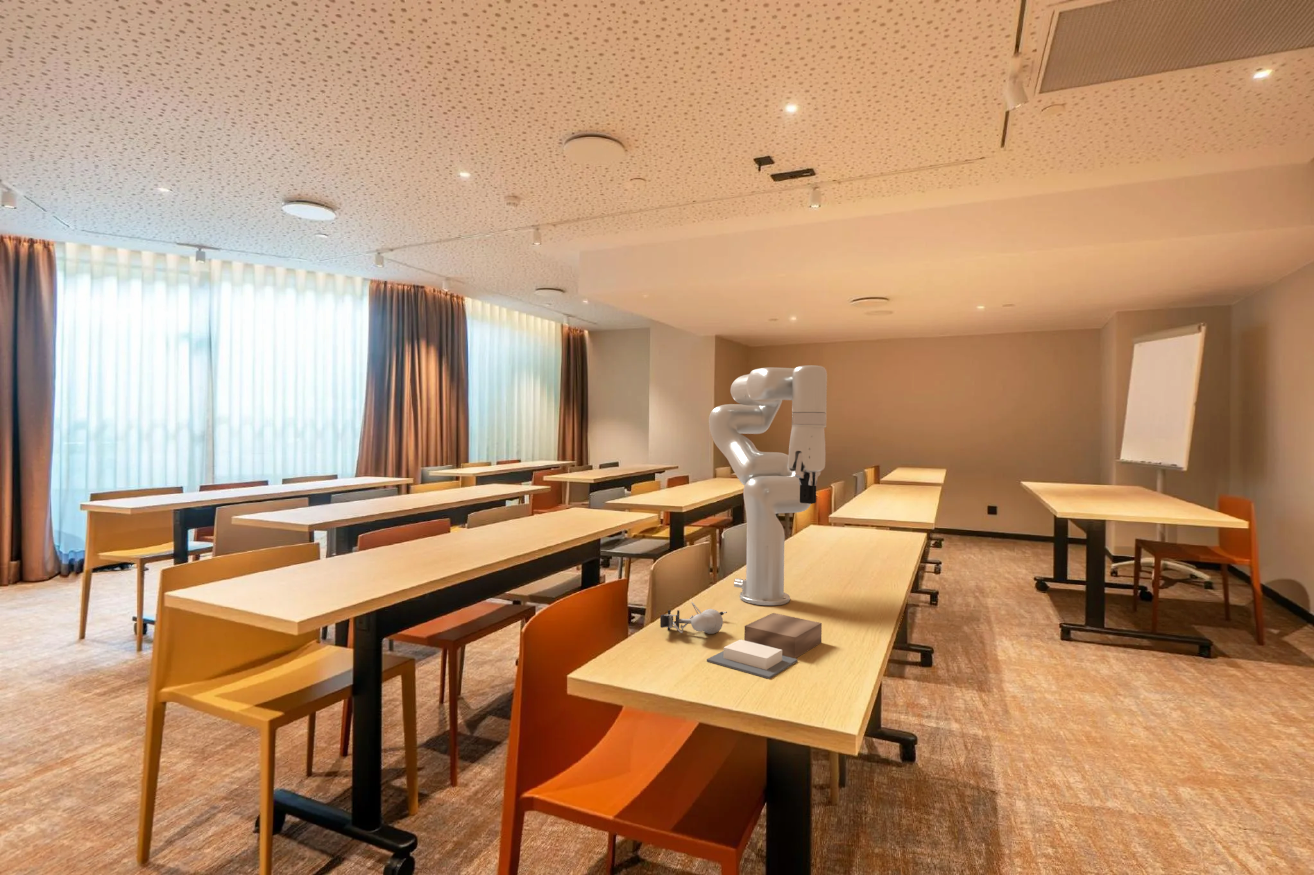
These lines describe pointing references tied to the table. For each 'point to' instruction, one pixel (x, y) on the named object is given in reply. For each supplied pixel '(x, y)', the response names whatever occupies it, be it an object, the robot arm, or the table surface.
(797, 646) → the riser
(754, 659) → the tile
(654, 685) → the table surface
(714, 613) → the clip-on lamp
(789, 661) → the mat
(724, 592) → the table surface
